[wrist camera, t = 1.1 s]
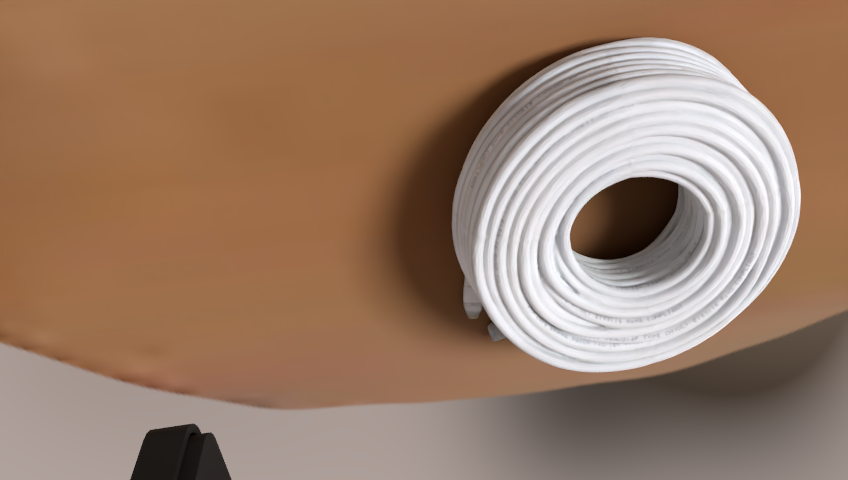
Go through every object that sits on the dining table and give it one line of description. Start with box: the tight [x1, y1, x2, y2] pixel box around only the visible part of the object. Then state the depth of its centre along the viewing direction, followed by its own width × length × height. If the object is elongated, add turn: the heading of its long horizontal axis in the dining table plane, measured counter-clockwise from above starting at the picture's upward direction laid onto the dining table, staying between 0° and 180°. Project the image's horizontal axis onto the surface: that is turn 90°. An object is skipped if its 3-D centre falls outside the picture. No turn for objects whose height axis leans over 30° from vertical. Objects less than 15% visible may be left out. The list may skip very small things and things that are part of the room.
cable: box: [452, 37, 801, 372], centre depth 38 cm, size 18×18×6 cm
